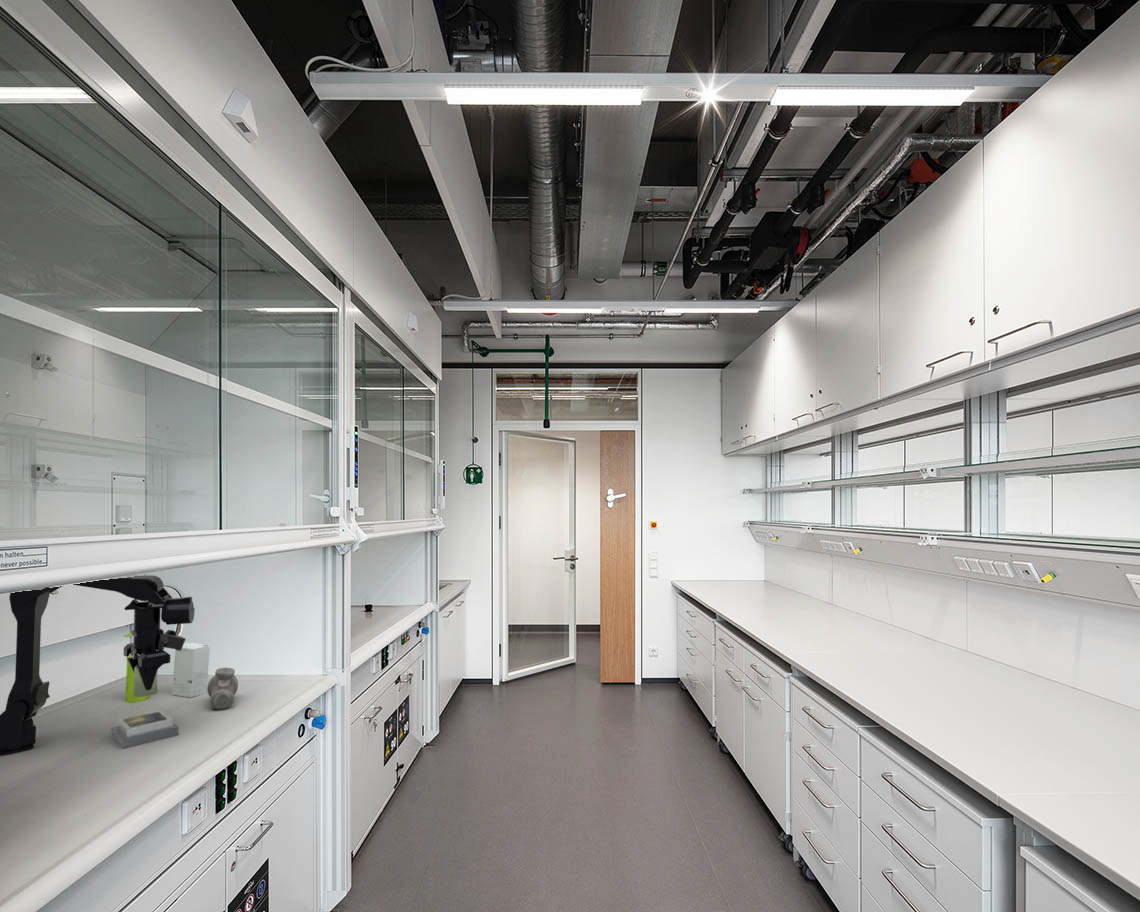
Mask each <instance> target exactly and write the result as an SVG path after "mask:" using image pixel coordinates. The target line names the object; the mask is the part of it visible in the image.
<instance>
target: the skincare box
mask: <svg viewBox="0 0 1140 912" xmlns="http://www.w3.org/2000/svg"><path fill="white" fill-rule="evenodd" d="M210 649H211V645H208V644H203V643H198V642H197V643H196V642H187V643H184V644H183V647H182V649H181V651H178V650H176V649H174V650H175V651H174V664H173V674H172V675H173V676H172V690H171V694H172V696H178V697H183V698H185V697H186V698H190V699H191V698H194V697H198V696H201V695H204V694H208V691H207V689H208V682H209V681H208V679H209V666H210V665H209V664H210Z"/></svg>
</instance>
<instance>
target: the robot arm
mask: <svg viewBox="0 0 1140 912" xmlns="http://www.w3.org/2000/svg"><path fill="white" fill-rule="evenodd" d="M133 576H134V577H127V578H118V579H109V580H99V581H93V582H86V583H80V584H73V586H78V587H85V588H91V589H97V590H103V591H111V592H116V593H119V594H121V595H123V596H126V597H128V598H131V601H130V603H129V604H128V605H126V606H125V607H124V610H125V611H132V610H133V613H134V614H133V630H131V632H132V633H131V632H130V633H131V634H132V635H133V636H132V637H133V642H130V643H127V644H126V645H125V646H124V647H123V656H124V657H126V661H127V660H128V662H129V664H130V666H131V668H132V670H133V672H134V667H135V666H136V667H137V669H138V672H139V674H140V677H141V679H142V682H143V684H144V687H145V689H146V690H151V688H152V685H153V682H154V679H155V676H156V673H157V674H158V672H157V670H159V668H161V667H162V666H163V665H166V664H170V663H171V654H170V653H168V651H165V650H164V649H165V648H166V649H172V650H175V649H176V650H178V651H181V649H182V647H183V644H185V642H186V638H185V637H183V636H180V635H177V631H176V630H172V629H167V630H166V632H164V631H165V630H163V629H162V628H161V621H162V622H163V623H165V624H166V625H167V626H168V625H185V624H187V625H188V624H192V623H193V621H194V619H195V613H196V612H195V610H196V609H195V606H194V601H193V597H192V596H186V597H173V596H172V595H171V594H170V593H169V592H168V591H167V590H166V588H165V586H164V582H163V580H162V578H161V577H160V576H157V575H148V574H146V575H142V574H141V576H138V575H133ZM62 587H63V586H60V587H53V588H48V589H42V590H32V591H22V592H15V593H11V592H10V593H9V603H10V610H11V613H12V615H13V617H14V619H15V620H16V648H15V671H14V672H15V675H14V682H13V684H12V687H11V689H10V692H9V693H8V697H7V701H6V704H5V705H6V706H5V710H4V711H3V712H2V713H0V756H4V755H5V756H6V755H9V754H14V753H17V752H22V751H26V750H31V749H34V747H35V744H36V742H37V741H36V739H37V726H36V724H34V720H33V718H34V717H36V715H37V713H38V711H39V710H40V709H42V707H44V706H45V705H46V703H47V700H48V699H49V698H50V697H51V696H50V694H49V687H50V681H44V682H43V679H42V678H41V676H40V665H41V663H40V662H41V660H40V659H41V633H42V632H41V631H42V629H41V628H42V617H43V615H44V612H46V611H45V610H46V608H47V605H48V603H49V598H50V594H52V593H53V592H55V591H57V590H59V589H61V588H62ZM130 654H131V658H127V656H129V655H130Z"/></svg>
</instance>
